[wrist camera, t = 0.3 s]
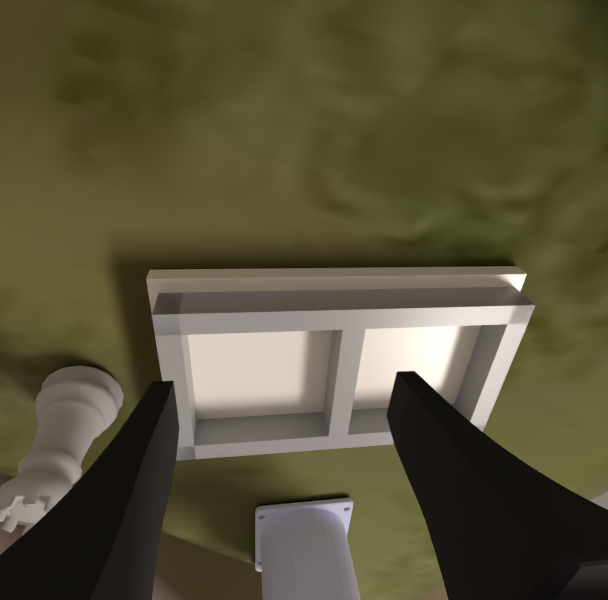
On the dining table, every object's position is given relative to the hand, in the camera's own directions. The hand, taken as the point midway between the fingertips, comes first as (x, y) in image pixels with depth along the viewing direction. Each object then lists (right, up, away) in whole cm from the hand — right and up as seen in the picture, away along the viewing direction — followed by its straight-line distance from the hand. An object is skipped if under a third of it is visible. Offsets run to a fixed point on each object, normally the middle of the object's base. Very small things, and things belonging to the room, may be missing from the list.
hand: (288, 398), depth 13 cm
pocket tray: (+2, 0, +12) cm, 13 cm away
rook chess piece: (-13, -2, +11) cm, 17 cm away
